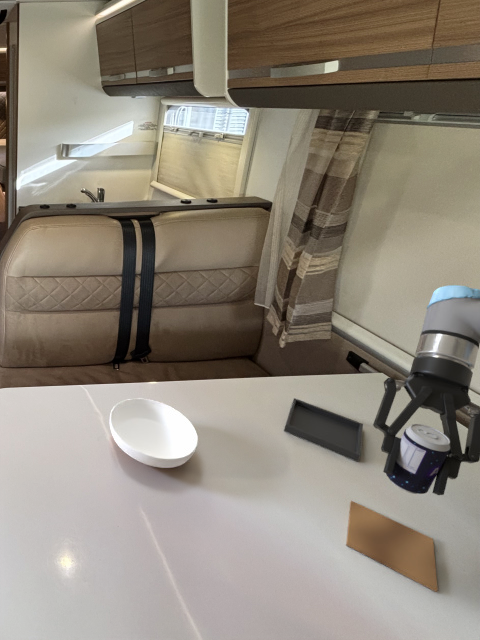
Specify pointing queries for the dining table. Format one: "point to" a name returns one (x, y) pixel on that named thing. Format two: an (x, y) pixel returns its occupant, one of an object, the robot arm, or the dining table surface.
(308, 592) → the dining table surface
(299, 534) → the dining table surface
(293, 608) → the dining table surface
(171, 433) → the bowl
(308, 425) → the tray
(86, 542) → the dining table surface
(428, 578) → the trivet
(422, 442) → the beverage can
